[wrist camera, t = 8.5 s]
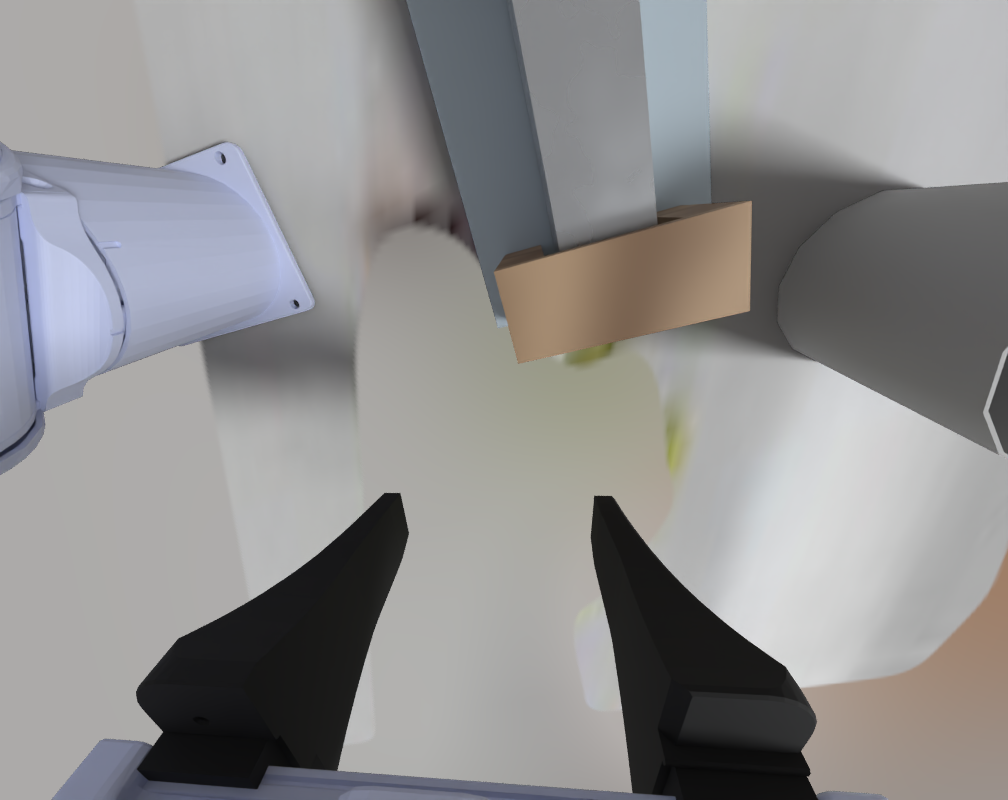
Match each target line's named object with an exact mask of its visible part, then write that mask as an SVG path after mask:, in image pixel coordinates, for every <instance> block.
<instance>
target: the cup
mask: <svg viewBox="0 0 1008 800" xmlns="http://www.w3.org/2000/svg"><path fill="white" fill-rule="evenodd" d="M777 323H778V325H779V327H780V328H781V330H782V332H783V334H784V335H785V337H786V339H787V341H788V342H789V344H790V346H791V348H792V349H794V350H796V351H798V352H800V353H802V354H804V355H806V356H808V357H810V358H812V359H813V360H815V361H817V362H819V363H821V364H823V365H825V366H827V367H829V368H831V369H833V370H835V371H837V372H839V373H841V374H843V375H845V376H847V377H848V378H850V379H852V380H854V381H856V382H858V383H860V384H862V385H864V386H866V387H868V388H870V389H872V390H874V391H876V392H878V393H880V394H882V395H883V396H885V397H887V398H889V399H891V400H893V401H895V402H897V403H899V404H901V405H903V406H905V407H907V408H909V409H911V410H913V411H915V412H917V413H918V414H920V415H922V416H924V417H926V418H928V419H930V420H932V421H934V422H936V423H938V424H940V425H942V426H944V427H946V428H948V429H950V430H952V431H953V432H955V433H957V434H959V435H961V436H963V437H965V438H967V439H969V440H971V441H973V442H975V443H977V444H979V445H981V446H983V447H985V448H987V449H988V450H990V451H992V452H994V453H996V454H998V455H1000V456H1002V457H1004V458H1006V459H1008V182H1003V183H988V184H974V185H959V186H944V187H930V188H915V189H900V190H886V191H881V192H878V193H876V194H874V195H872V196H870V197H868V198H866V199H864V200H861V201H859V202H857V203H855V204H853V205H851V206H849V207H847V208H845V209H842V210H840V211H838V212H836V213H835V214H834V215H833V216H832V217H831V218H830V219H829V220H827V221H826V222H825V223H824V224H823V225H822V226H821V227H820V228H819V229H818V230H817V231H816V232H815V233H814V234H813V235H812V236H811V237H810V238H809V239H808V240H807V241H805V242H804V243H803V244H802V245H801V246H800V247H799V249H798V251H797V253H796V254H795V256H794V258H793V260H792V262H791V264H790V266H789V268H788V270H787V272H786V274H785V276H784V278H783V280H782V282H781V284H780V286H779V294H778V314H777Z"/></svg>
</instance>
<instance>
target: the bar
mask: <svg viewBox="0 0 1008 800" xmlns="http://www.w3.org/2000/svg"><path fill="white" fill-rule="evenodd" d="M506 2H507V8H508V13H509V18H510V23H511V28H512V33H513V38H514V43H515V49H516V54H517V59H518V64H519V69H520V74H521V79H522V85H523V90H524V95H525V100H526V105H527V110H528V115H529V121H530V126H531V131H532V136H533V141H534V146H535V151H536V156H537V162H538V167H539V172H540V177H541V182H542V187H543V192H544V198H545V203H546V208H547V213H548V218H549V223H550V228H551V234H552V239H553V244H554V249H555V253H557V252H561V251H564V250H568V249H572V248H575V247H579V246H582V245H586V244H590V243H593V242H597V241H601V240H604V239H608V238H611V237H615V236H619V235H622V234H626V233H629V232H633V231H637V230H640V229H644V228H648V227H651V226H655V225H658V223H657V211H656V198H655V186H654V173H653V161H652V149H651V136H650V124H649V111H648V99H647V87H646V74H645V62H644V50H643V37H642V25H641V12H640V0H506Z"/></svg>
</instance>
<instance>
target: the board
mask: <svg viewBox="0 0 1008 800" xmlns="http://www.w3.org/2000/svg"><path fill="white" fill-rule="evenodd" d="M406 2H407V5H408V9H409V12H410V16H411V20H412V23H413V27H414V30H415V34H416V37H417V41H418V45H419V48H420V52H421V55H422V59H423V62H424V66H425V70H426V73H427V77H428V80H429V84H430V87H431V91H432V95H433V98H434V102H435V105H436V109H437V112H438V116H439V119H440V123H441V127H442V130H443V134H444V137H445V141H446V144H447V148H448V152H449V155H450V159H451V162H452V166H453V169H454V173H455V177H456V180H457V184H458V187H459V191H460V194H461V198H462V202H463V205H464V209H465V212H466V216H467V219H468V223H469V227H470V230H471V234H472V237H473V241H474V244H475V248H476V252H477V255H478V259H479V262H480V266H481V269H482V273H483V277H484V280H485V284H486V287H487V291H488V294H489V298H490V302H491V305H492V309H493V312H494V316H495V319H496V323H497V327H498V328H501V327H505V326H508V323H507V320H506V316H505V312H504V308H503V305H502V301H501V297H500V293H499V290H498V286H497V282H496V278H495V275H494V271H495V269H496V268H497V266H498V265H499V263H500V262H501V260H502V259H503V257H504V256H505V255H506V254H510V253H513V252H517V251H520V250H524V249H528V248H531V247H535V246H538V245H541V247H542V251H543V254H544V256H546V255H550V254H554V253H555V249H554V244H553V239H552V234H551V228H550V223H549V218H548V213H547V208H546V203H545V198H544V192H543V187H542V182H541V177H540V172H539V167H538V162H537V156H536V151H535V146H534V141H533V136H532V131H531V126H530V121H529V115H528V110H527V105H526V100H525V95H524V90H523V85H522V79H521V74H520V69H519V64H518V59H517V54H516V49H515V43H514V38H513V33H512V28H511V23H510V18H509V13H508V8H507V2H506V0H406ZM640 12H641V25H642V37H643V50H644V62H645V74H646V87H647V99H648V111H649V124H650V136H651V149H652V161H653V173H654V186H655V198H656V211H657V212H658V211H662V210H666V209H669V208H673V207H676V206H680V205H694V204H709V203H711V166H710V124H709V81H708V38H707V0H640Z"/></svg>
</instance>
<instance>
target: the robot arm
mask: <svg viewBox="0 0 1008 800" xmlns="http://www.w3.org/2000/svg"><path fill="white" fill-rule="evenodd" d="M222 154H224V155H225V158H226V163H225V164H224V163H223V162H222V159H221V155H222ZM294 299H295V300H296V301H298V303H299V307H297V306H296V305H295V304H294ZM314 305H315V301H314V298H313V296H312V294H311V292H310V290H309V287H308V285H307V283H306V281H305V279H304V277H303V275H302V273H301V271H300V269H299V267H298V265H297V263H296V260H295V258H294V256H293V254H292V252H291V250H290V248H289V246H288V244H287V242H286V240H285V238H284V236H283V233H282V231H281V229H280V227H279V225H278V223H277V221H276V219H275V217H274V215H273V213H272V211H271V209H270V206H269V204H268V202H267V200H266V198H265V196H264V194H263V192H262V190H261V188H260V186H259V184H258V182H257V179H256V177H255V175H254V173H253V171H252V169H251V167H250V165H249V163H248V161H247V159H246V157H245V155H244V152H243V151H242V149H241V148H240V147H239V146H238V145H236V144H233V143H230V142H224V143H221V144H219V145H216V146H213V147H211V148H208V149H206V150H203V151H201V152H198V153H196V154H193V155H191V156H188V157H185V158H183V159H180V160H178V161H175V162H173V163H170V164H168V165H165V166H162V167H160V168H149V167H141V166H133V165H125V164H117V163H109V162H101V161H93V160H85V159H77V158H68V157H61V156H53V155H45V154H37V153H29V152H21V151H13V150H10V149H9V148H8V147H7V146H6V145H4V144H3V143H1V142H0V475H1V474H3V473H5V472H6V471H8V470H10V469H12V468H13V467H14V466H15V465H17V464H18V463H20V462H21V461H22V460H24V459H25V458H26V457H27V456H28V455H29V454H30V453H31V452H32V451H33V450H34V449H35V448H36V446H37V445H38V443H39V441H40V440H41V438H42V436H43V434H44V429H45V419H44V412H45V411H47V410H50V409H52V408H55V407H57V406H59V405H62V404H64V403H67V402H70V401H72V400H74V399H77V398H80V397H82V396H83V388H84V386H85V384H86V382H87V381H88V380H89V379H91V378H93V377H95V376H97V375H100V374H103V373H105V372H108V371H111V370H113V369H116V368H119V367H122V366H124V365H127V364H130V363H132V362H135V361H138V360H141V359H143V358H146V357H148V356H151V355H154V354H157V353H160V352H162V351H165V350H168V349H170V348H173V347H176V346H184V345H188V344H191V343H194V342H198V341H202V340H205V339H209V338H213V337H216V336H220V335H223V334H227V333H230V332H234V331H237V330H241V329H244V328H248V327H251V326H255V325H259V324H262V323H266V322H269V321H273V320H276V319H280V318H283V317H287V316H290V315H294V314H297V313H301V312H304V311H308V310H310V309H312V308H313V307H314ZM591 530H592V531H591V543H592V551H593V558H594V565H595V570H596V574H597V578H598V582H599V586H600V590H601V595H602V599H603V603H604V607H605V611H606V615H607V619H608V624H609V628H610V633H611V637H612V643H613V649H614V656H615V662H616V669H617V676H618V683H619V690H620V697H621V704H622V711H623V718H624V726H625V734H626V742H627V749H628V758H629V766H630V775H631V783H632V791H633V793H624V792H610V791H597V790H583V789H570V788H557V787H542V786H530V785H516V784H504V783H491V782H477V781H462V780H451V779H437V778H424V777H411V776H398V775H384V774H371V773H357V772H345V771H337V769H338V765H339V760H340V756H341V752H342V748H343V743H344V739H345V735H346V730H347V726H348V722H349V718H350V714H351V711H352V707H353V703H354V699H355V695H356V691H357V687H358V684H359V680H360V677H361V673H362V669H363V666H364V662H365V659H366V655H367V652H368V649H369V645H370V642H371V639H372V635H373V632H374V629H375V626H376V624H377V621H378V618H379V616H380V613H381V611H382V608H383V606H384V603H385V601H386V598H387V596H388V593H389V591H390V588H391V586H392V583H393V581H394V579H395V576H396V574H397V571H398V568H399V566H400V563H401V561H402V558H403V554H404V550H405V546H406V543H407V539H408V535H409V532H408V528H407V522H406V517H405V513H404V508H403V503H402V499H401V495H400V493H384V494H383V495H382V496H381V497H380V498H379V499H378V500H377V501H376V502H375V503H374V504H373V505H372V506H371V507H370V508H369V509H368V510H366V512H364V513H363V514H362V515H361V516H360V517H359V518H358V519H357V520H356V521H355V522H354V523H353V524H352V525H351V526H350V527H349V528H347V529H346V530H345V531H344V532H343V533H342V534H341V535H340V536H339V537H337V538H336V539H335V540H334V541H333V542H332V543H331V544H329V545H328V546H327V547H326V548H325V549H324V550H322V551H321V552H320V553H319V554H318V555H316V556H315V557H314V558H312V559H311V560H310V561H309V562H307V563H306V564H305V565H303V566H302V567H301V568H299V569H298V570H297V571H295V572H294V573H292V574H291V575H290V576H288V577H287V578H285V579H284V580H282V581H281V582H279V583H277V584H276V585H274V586H273V587H271V588H270V589H268V590H267V591H265V592H264V593H262V594H261V595H259V596H257V597H256V598H254V599H252V600H251V601H249V602H247V603H246V604H244V605H242V606H240V607H239V608H237V609H235V610H233V611H232V612H230V613H228V614H226V615H224V616H222V617H221V618H219V619H217V620H215V621H213V622H211V623H209V624H207V625H205V626H203V627H201V628H199V629H197V630H195V631H193V632H191V633H189V634H187V635H185V636H183V637H181V638H179V639H178V640H177V641H176V642H175V643H174V645H173V646H172V647H171V648H170V649H169V650H168V652H167V653H166V654H165V655H164V656H163V658H162V659H161V660H160V661H159V663H158V664H157V665H156V666H155V667H154V668H153V670H152V671H151V672H150V673H149V674H148V676H147V677H146V678H145V679H144V681H143V682H142V683H141V684H140V685H139V687H138V689H137V691H136V696H137V701H138V703H139V705H140V706H141V707H142V709H143V710H144V711H145V712H146V713H147V714H148V716H149V717H150V718H151V719H152V720H153V721H154V722H155V723H156V724H157V725H158V726H159V727H160V729H161V730H162V731H163V733H162V735H161V736H160V737H159V739H158V740H157V742H156V743H155V745H154V746H152V745H150V744H147V743H145V742H140V741H130V740H116V739H103V740H101V741H99V743H98V744H97V745H96V746H95V748H93V750H92V751H91V753H89V755H88V756H87V757H86V758H85V759H84V761H83V762H82V763H81V764H80V766H79V767H78V768H77V769H76V770H75V772H74V773H73V774H72V775H71V777H70V778H69V779H68V780H67V782H66V783H65V784H64V785H63V786H62V787H61V789H60V790H59V791H58V792H57V794H56V795H55V796H54V797H53V798H52V800H888V799H887V798H886V797H884V796H882V795H880V794H867V793H854V792H840V791H827V792H822V793H819V794H817V795H816V794H815V792H814V790H813V788H812V786H811V784H810V782H809V780H808V778H807V776H809V775H810V774H811V773H810V768H809V766H808V764H807V763H806V761H805V758H804V756H803V755H802V753H801V750H802V748H803V747H804V746H805V744H806V743H807V741H808V740H809V738H810V737H811V735H812V734H813V732H814V729H815V726H816V723H817V721H816V716H815V713H814V711H813V710H812V708H811V706H810V704H809V703H808V701H807V699H806V697H805V696H804V694H803V692H802V691H801V689H800V688H799V686H798V684H797V683H796V682H795V680H794V679H793V677H792V676H791V674H790V673H789V672H788V670H787V668H786V667H785V666H783V665H782V664H781V663H779V662H778V661H776V660H775V659H773V658H772V657H771V656H769V655H768V654H766V653H765V652H763V651H762V650H761V649H759V648H758V647H756V646H755V645H753V644H752V643H751V642H749V641H748V640H747V639H745V638H744V637H743V636H741V635H740V634H739V633H737V632H736V631H735V630H734V629H732V628H731V627H730V626H728V625H727V624H726V623H725V622H723V621H722V620H721V619H720V618H719V617H718V616H716V615H715V614H714V613H713V612H712V611H711V610H710V609H708V608H707V607H706V606H705V605H704V604H703V603H701V602H700V601H699V600H698V599H697V598H696V597H695V596H694V595H693V594H692V593H691V592H690V591H689V590H688V589H686V588H685V587H684V586H683V585H682V584H681V583H680V582H679V580H678V579H677V578H676V577H675V576H674V575H673V574H672V573H671V572H670V571H669V570H668V569H667V568H666V567H665V566H664V565H663V563H662V562H661V561H660V560H659V559H658V558H657V556H656V555H655V554H654V553H653V552H652V550H651V549H650V548H649V547H648V546H647V544H646V543H645V542H644V540H643V539H642V538H641V537H640V535H639V534H638V533H637V531H636V530H635V529H634V527H633V526H632V525H631V523H630V522H629V520H628V519H627V517H626V516H625V515H624V513H623V512H622V510H621V509H620V507H619V505H618V504H617V502H616V501H615V499H614V498H613V497H612V496H594V506H593V517H592V529H591Z"/></svg>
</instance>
